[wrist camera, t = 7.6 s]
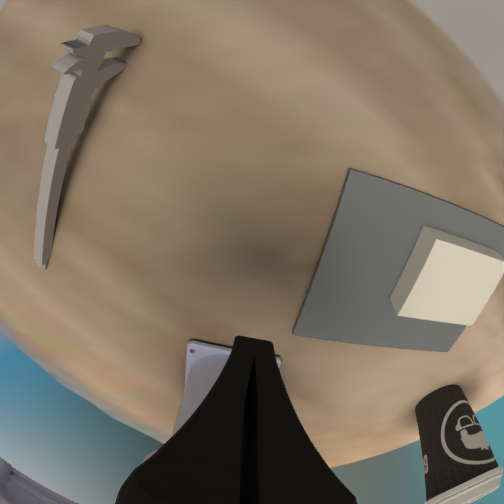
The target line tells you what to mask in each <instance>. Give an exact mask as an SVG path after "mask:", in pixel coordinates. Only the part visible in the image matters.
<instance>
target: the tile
mask: <svg viewBox="0 0 504 504" xmlns="http://www.w3.org/2000/svg"><path fill="white" fill-rule="evenodd" d="M503 273H504V258H503V257H502V256H501V255H500V254H499V253H498V252H497V251H496V250H493V249H490V248H488V247H485V246H482V245H480V244H477V243H474V242H472V241H469V240H466V239H463V238H460V237H457V236H455V235H452V234H449V233H446V232H443V231H440V230H437V229H434V228H431V227H428V226H425V225H423V228H422V230H421V233H420V235H419V237H418V240H417V242H416V244H415V246H414V249H413V251H412V253H411V255H410V257H409V260H408V262H407V264H406V266H405V268H404V270H403V272H402V274H401V276H400V278H399V280H398V282H397V284H396V286H395V288H394V290H393V292H392V294H391V296H390V300H391V302H392V305H393V307H394V309H395V311H396V314H397V316H403V317H410V318H417V319H424V320H431V321H438V322H446V323H453V324H461V325H469V326H472V325H473V323H474V322H475V320H476V319H477V317H478V316H479V314H480V313H481V311H482V309H483V308H484V306H485V305H486V303H487V301H488V300H489V298H490V296H491V295H492V293H493V291H494V290H495V288H496V286H497V284H498V283H499V281H500V279H501V277H502V275H503Z"/></svg>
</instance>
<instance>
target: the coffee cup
mask: <svg viewBox="0 0 504 504" xmlns="http://www.w3.org/2000/svg"><path fill="white" fill-rule="evenodd" d="M415 411H416V417H417V422H418V428H419V435H420V441H421V448H422V455H423V464H424V473H425V484H426V502H425V503H424V504H469V503H472V502H473V501H476V500H478V499H480V498H481V497H483V496H485V495H487V494H489V493H490V492H492V491H494V490H495V489H496V488H498V487H499V486H500V478H501V477H502V475H503V474H502V473H503V466H500V467H499V466H498V464H497V462H496V459H495V457H494V455H493V453H492V450H491V448H490V446H489V443H488V442H487V439H486V437H485V435H484V433H483V430H482V428H481V426H480V424H479V422H478V420H477V418H476V416H475V414H474V412H473V410H472V408H471V406H470V404H469V402H468V400H467V398H466V396H465V395H464V393H463V391H462V389H461V387H460V386H458V385H449V386H445V387H442V388H440V389H438V390H436V391H434V392H432V393H430V394H429V395H427V396H426V397H425V398H423V399H422V400H421V401H420V402H419V403H418V405H417V406H416V409H415Z"/></svg>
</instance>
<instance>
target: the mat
mask: <svg viewBox="0 0 504 504" xmlns="http://www.w3.org/2000/svg"><path fill="white" fill-rule="evenodd" d="M423 225H425V226H428V227H431V228H434V229H437V230H440V231H443V232H446V233H449V234H452V235H455V236H457V237H460V238H463V239H466V240H469V241H472V242H474V243H477V244H480V245H482V246H485V247H488V248H490V249H493V250H496V251H497V252H498V253H499V254H500V255H501V256H502V257H503V258H504V226H502V225H500V224H498V223H496V222H494V221H492V220H489V219H487V218H485V217H483V216H481V215H478V214H476V213H474V212H471V211H469V210H467V209H464V208H462V207H460V206H457V205H455V204H452V203H450V202H447V201H445V200H442V199H440V198H437V197H434V196H432V195H429V194H427V193H424V192H421V191H418V190H416V189H413V188H410V187H407V186H404V185H401V184H399V183H396V182H393V181H390V180H387V179H384V178H380V177H377V176H374V175H371V174H368V173H364V172H361V171H358V170H354V169H351V168H349V170H348V173H347V176H346V180H345V183H344V186H343V190H342V193H341V196H340V199H339V202H338V206H337V209H336V212H335V215H334V218H333V221H332V224H331V227H330V230H329V233H328V236H327V239H326V242H325V245H324V248H323V251H322V254H321V256H320V259H319V262H318V265H317V268H316V270H315V273H314V276H313V279H312V281H311V284H310V287H309V290H308V292H307V295H306V298H305V300H304V303H303V306H302V308H301V311H300V313H299V316H298V318H297V321H296V324H295V326H294V329H293V335H298V336H304V337H311V338H317V339H324V340H331V341H338V342H346V343H354V344H362V345H371V346H380V347H390V348H400V349H412V350H424V351H439V352H448V351H449V350H450V348H451V347H452V346H453V344H454V343H455V341H456V340H457V339H458V337H459V336H460V334H461V333H462V332H463V330H464V329H465V327H466V326H467V325H461V324H453V323H446V322H438V321H431V320H424V319H417V318H410V317H403V316H397V314H396V311H395V309H394V307H393V305H392V302H391V300H390V296H391V294H392V292H393V290H394V288H395V286H396V284H397V282H398V280H399V278H400V276H401V274H402V272H403V270H404V268H405V266H406V264H407V262H408V260H409V257H410V255H411V253H412V251H413V249H414V246H415V244H416V242H417V240H418V237H419V235H420V233H421V230H422V228H423Z"/></svg>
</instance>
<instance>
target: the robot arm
mask: <svg viewBox="0 0 504 504" xmlns="http://www.w3.org/2000/svg"><path fill="white" fill-rule="evenodd" d="M192 349H193V350H192ZM280 365H281V359H280V358H279V357H276V356H275V352H274V347H273V344H272V342H271V341H265V340H260V339H254V338H249V337H244V336H236V337H235V340H234V344H233V348H232V349H231V348H226V347H221V346H216V345H212V344H207V343H202V342H198V341H193V340H191V341H189V342H188V344H187V354H186V369H185V388H184V393H183V397H182V400H181V404H180V408H179V412H178V415H177V419H176V423H175V427H174V431H173V434H172V437H171V438H170V439H169V440H168V441H167V442H166V443H165V444H164V445H163V446H162V447H161V448H160V449H159V450H155V451H153V452H152V453H150V454H149V455H147V456H146V457H145V459H144V460H143V462H142V464H141V465H140V466H138V467H137V468H136V469H135V470H133V472H132V473H131V474H130V476H129V477H128V478H127V480H126V481H125V482H124V484H123V485H122V487H121V489H120V491H119V493H118V496H117V499H116V503H115V504H357V501H356V497H355V496H354V495H353V494H352V493H351V492H350V491H349V490H348V489H347V488H346V487H345V486H344V484H343V483H342V482H341V481H340V480H339V479H338V478H337V477H336V476H335V474H334V473H333V472H332V470H331V469H330V468H329V467H328V465H327V464H326V462H325V461H324V460H323V458H322V457H321V455H320V454H319V452H318V451H317V450H316V448H315V447H314V445H313V444H312V442H311V440H310V439H309V437H308V435H307V434H306V432H305V430H304V428H303V426H302V424H301V422H300V421H299V419H298V416H297V414H296V412H295V410H294V408H293V406H292V403H291V401H290V399H289V396H288V394H287V391H286V388H285V385H284V383H283V380H282V377H281V374H280V371H279V367H280ZM0 504H78V503H75V502H73V501H71V500H69V499H67V498H65V497H63V496H61V495H59V494H57V493H55V492H53V491H51V490H50V489H48V488H46V487H44V486H42V485H41V484H39V483H37V482H35V481H34V480H32V479H30V478H29V477H27V476H25V475H24V474H22V473H21V472H19V471H18V470H16V469H14V468H13V467H12V466H11V465H10V464H9V463H7V462H6V461H5V460H3V459H2V458H1V457H0Z"/></svg>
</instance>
